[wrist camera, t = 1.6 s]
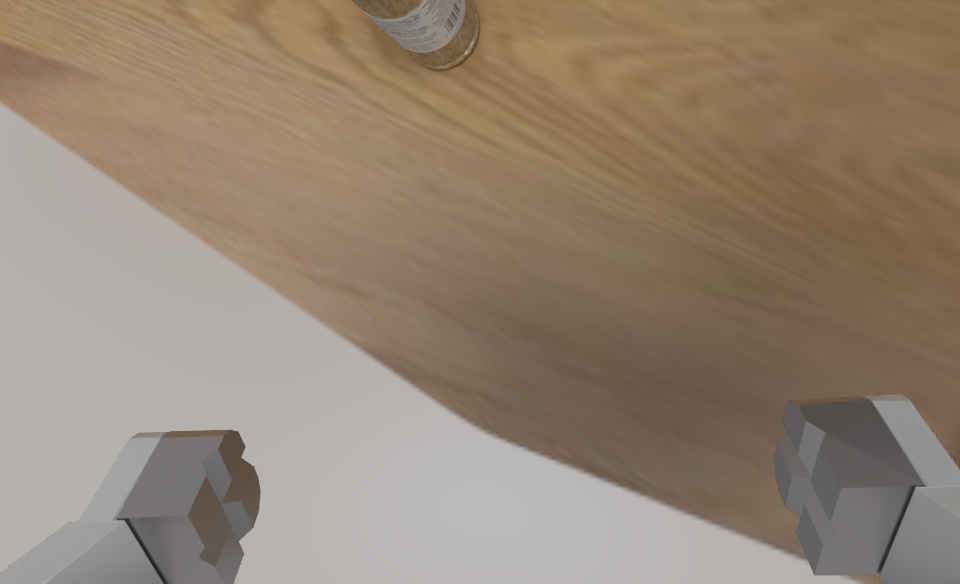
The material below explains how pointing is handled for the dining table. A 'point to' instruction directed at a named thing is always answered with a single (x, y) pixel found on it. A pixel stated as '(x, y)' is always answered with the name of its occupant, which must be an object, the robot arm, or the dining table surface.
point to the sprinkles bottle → (427, 28)
